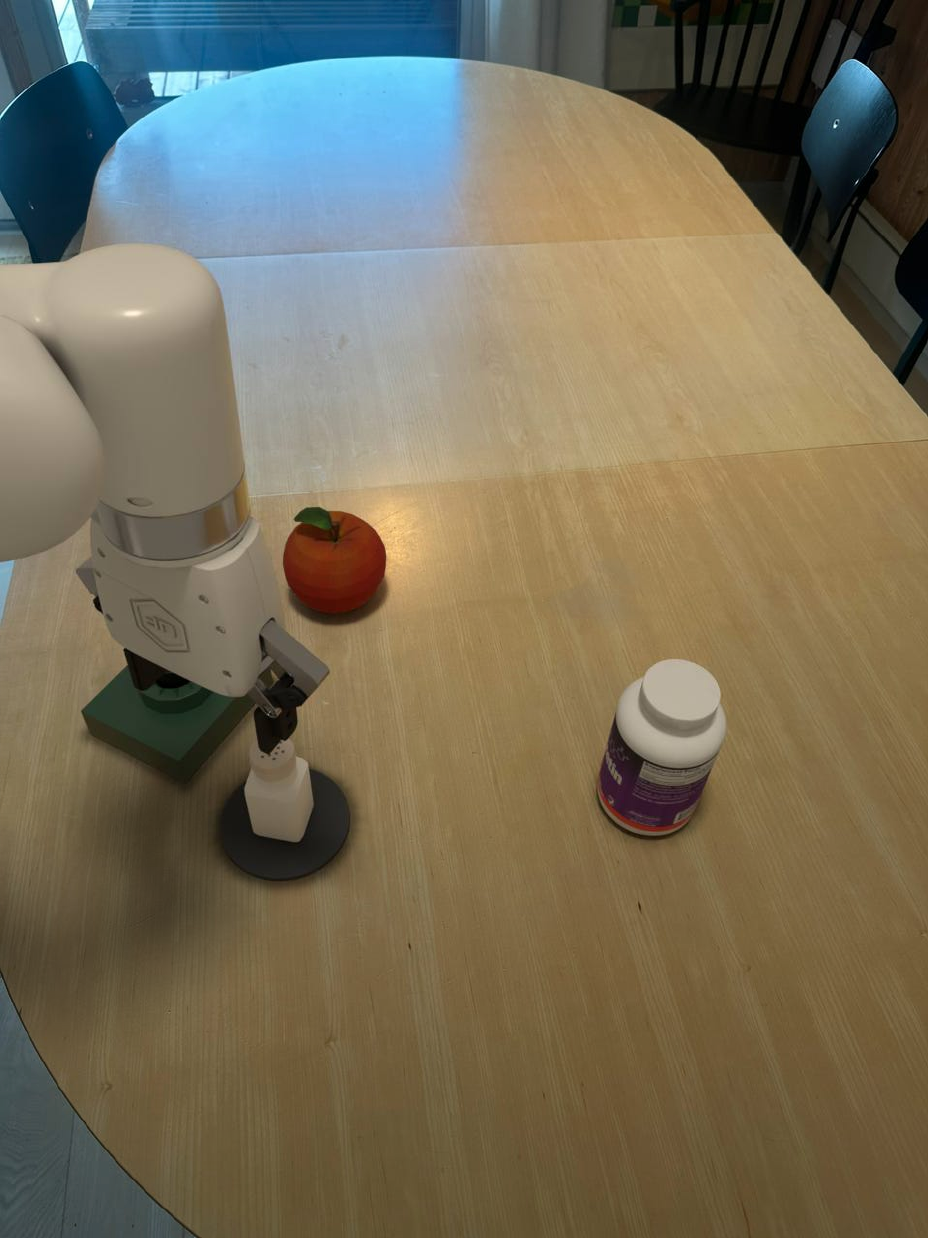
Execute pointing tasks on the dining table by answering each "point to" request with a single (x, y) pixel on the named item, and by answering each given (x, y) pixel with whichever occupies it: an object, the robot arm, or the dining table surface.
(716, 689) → the pill bottle
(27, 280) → the robot arm
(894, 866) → the dining table surface
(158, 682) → the black push button
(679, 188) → the dining table surface
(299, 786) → the salt shaker
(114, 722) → the green square nut
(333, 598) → the fruit
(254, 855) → the coaster
